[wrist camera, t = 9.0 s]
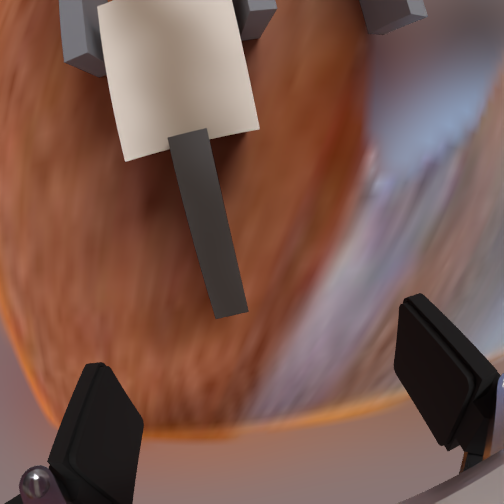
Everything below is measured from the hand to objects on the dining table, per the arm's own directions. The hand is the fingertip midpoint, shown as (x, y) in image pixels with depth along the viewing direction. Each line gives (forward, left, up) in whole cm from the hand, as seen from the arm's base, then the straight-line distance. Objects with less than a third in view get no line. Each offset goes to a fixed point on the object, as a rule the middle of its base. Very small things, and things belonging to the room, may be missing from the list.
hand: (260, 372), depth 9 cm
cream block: (+1, -7, -11) cm, 13 cm away
